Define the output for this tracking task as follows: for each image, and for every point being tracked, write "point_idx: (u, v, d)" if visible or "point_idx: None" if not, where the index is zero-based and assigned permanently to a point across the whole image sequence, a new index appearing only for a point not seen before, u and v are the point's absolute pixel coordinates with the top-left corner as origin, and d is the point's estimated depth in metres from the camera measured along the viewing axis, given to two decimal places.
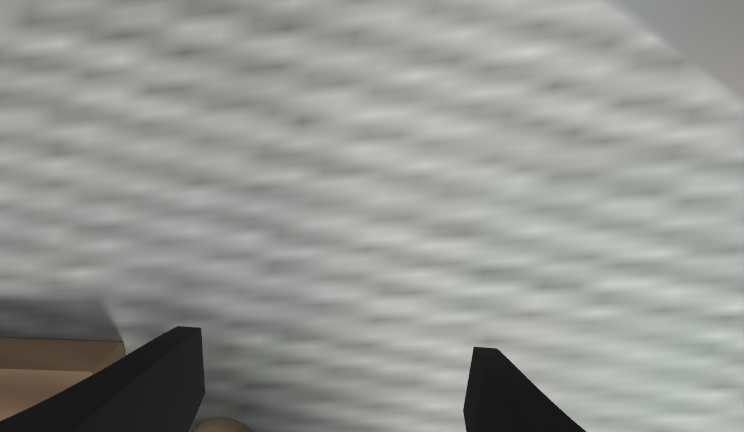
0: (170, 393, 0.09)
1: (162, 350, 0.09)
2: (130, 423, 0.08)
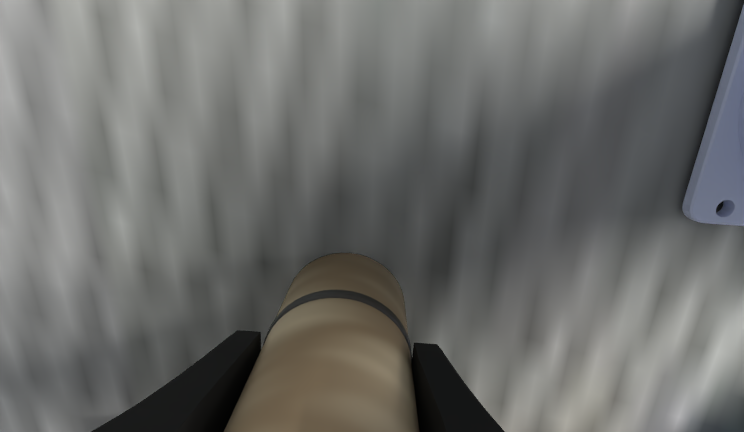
0: (238, 398, 0.09)
1: (232, 355, 0.09)
2: (210, 429, 0.08)
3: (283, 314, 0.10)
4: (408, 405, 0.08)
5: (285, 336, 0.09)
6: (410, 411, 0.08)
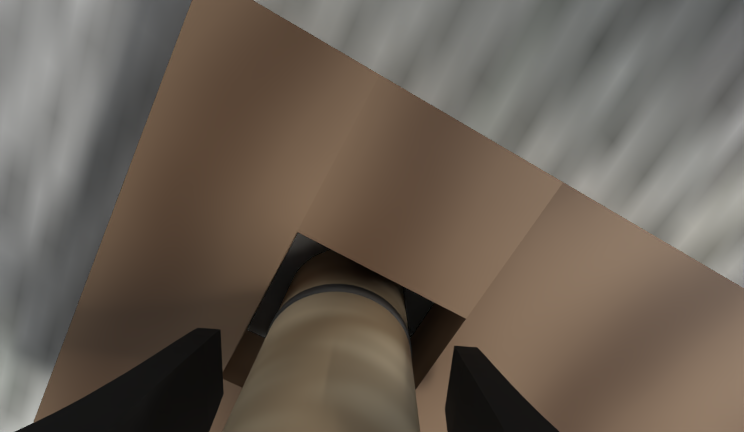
0: (193, 395, 0.09)
1: (185, 352, 0.09)
2: (157, 425, 0.08)
3: (287, 307, 0.11)
4: (409, 396, 0.08)
5: (288, 327, 0.09)
6: (411, 402, 0.08)
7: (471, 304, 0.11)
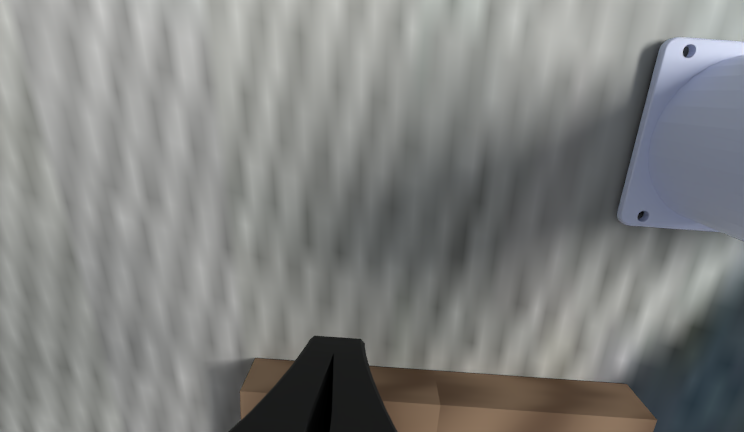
0: (326, 404, 0.09)
1: (321, 361, 0.09)
2: None
3: None
4: None
5: None
6: None
7: None
